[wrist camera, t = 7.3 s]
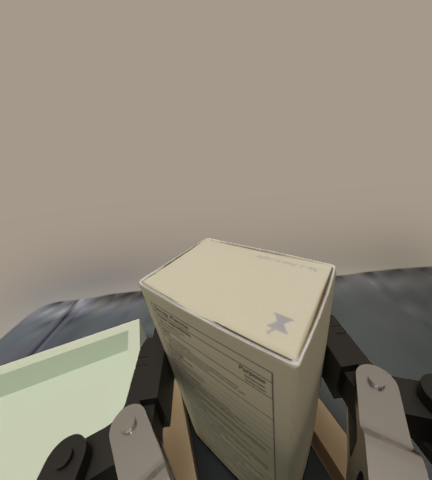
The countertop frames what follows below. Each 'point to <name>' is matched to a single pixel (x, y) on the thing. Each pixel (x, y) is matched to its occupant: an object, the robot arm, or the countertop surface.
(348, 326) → the countertop surface
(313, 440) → the wooden frame
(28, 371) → the sage tray
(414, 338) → the countertop surface
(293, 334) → the skincare box
